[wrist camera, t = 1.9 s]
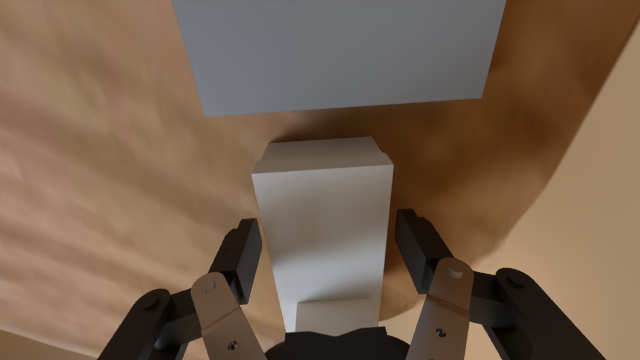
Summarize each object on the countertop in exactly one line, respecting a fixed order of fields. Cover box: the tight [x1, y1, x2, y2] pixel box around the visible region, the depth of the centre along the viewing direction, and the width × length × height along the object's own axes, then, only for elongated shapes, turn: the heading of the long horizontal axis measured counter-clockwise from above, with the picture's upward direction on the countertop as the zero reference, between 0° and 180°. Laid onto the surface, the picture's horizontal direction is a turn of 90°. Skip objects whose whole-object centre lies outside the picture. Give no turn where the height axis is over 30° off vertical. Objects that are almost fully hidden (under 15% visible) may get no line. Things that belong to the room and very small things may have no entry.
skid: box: [251, 136, 394, 332], centre depth 14 cm, size 12×6×4 cm, turn 3°
